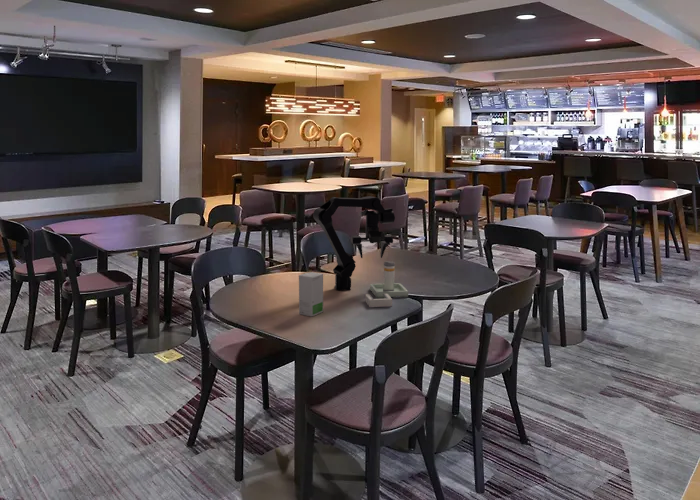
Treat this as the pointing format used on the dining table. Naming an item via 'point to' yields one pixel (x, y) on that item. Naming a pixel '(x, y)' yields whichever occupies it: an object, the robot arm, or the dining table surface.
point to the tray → (398, 291)
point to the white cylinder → (388, 276)
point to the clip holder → (378, 301)
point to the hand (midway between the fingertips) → (371, 257)
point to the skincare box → (310, 294)
